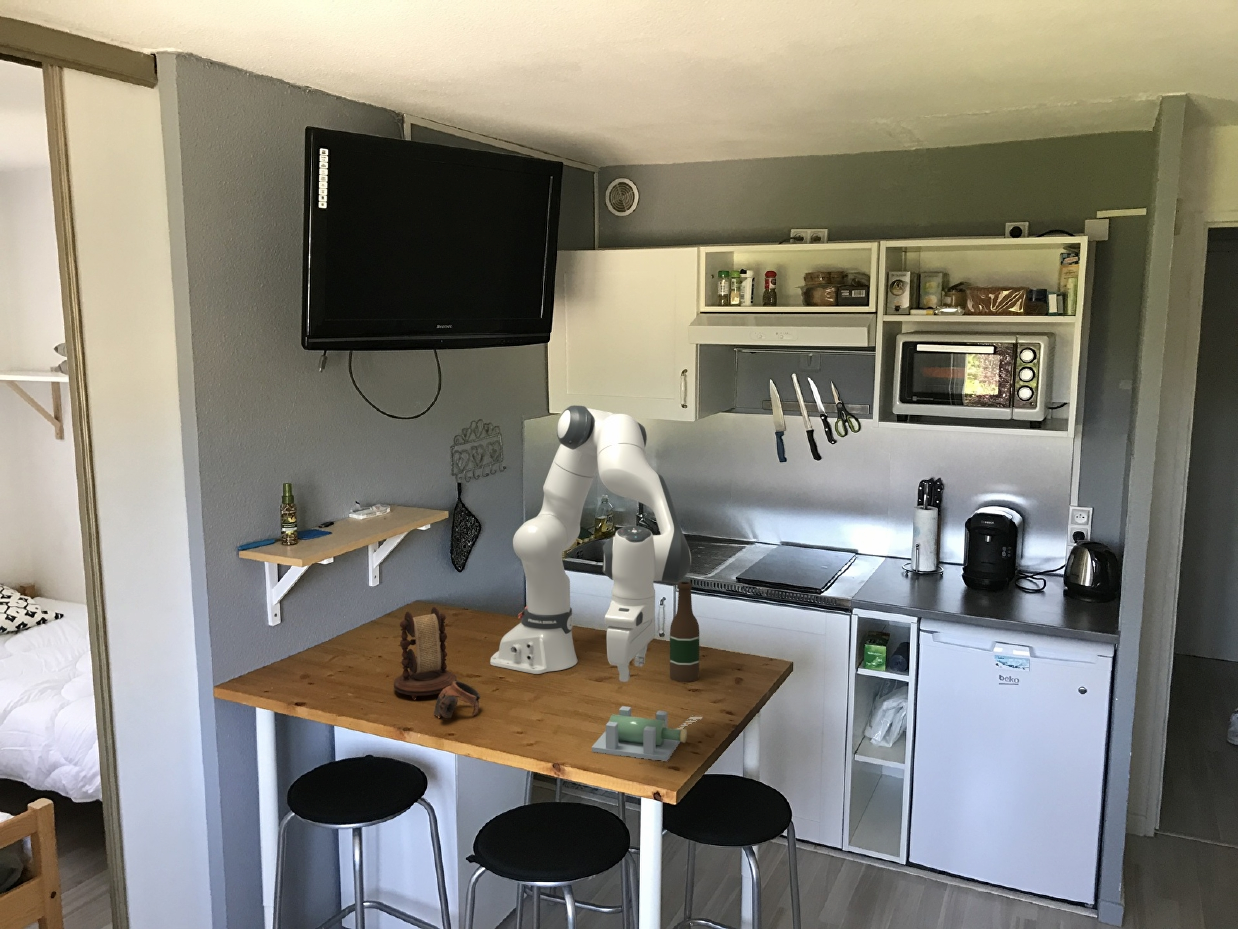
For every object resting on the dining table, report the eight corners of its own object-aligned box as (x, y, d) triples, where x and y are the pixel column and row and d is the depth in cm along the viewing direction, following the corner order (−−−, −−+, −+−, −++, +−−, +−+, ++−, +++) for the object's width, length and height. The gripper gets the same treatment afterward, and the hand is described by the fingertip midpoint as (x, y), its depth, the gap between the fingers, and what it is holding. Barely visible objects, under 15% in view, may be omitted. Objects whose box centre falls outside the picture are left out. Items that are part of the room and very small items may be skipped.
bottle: (608, 743, 204) (607, 720, 204) (615, 733, 209) (615, 710, 208) (682, 752, 199) (682, 729, 199) (688, 742, 204) (688, 719, 203)
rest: (591, 751, 202) (591, 723, 202) (609, 731, 213) (609, 704, 212) (667, 762, 197) (667, 733, 197) (681, 740, 208) (681, 713, 207)
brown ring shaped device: (438, 707, 228) (456, 676, 228) (472, 729, 226) (490, 697, 226) (419, 714, 216) (437, 680, 217) (454, 737, 214) (473, 703, 215)
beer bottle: (663, 679, 243) (663, 584, 240) (676, 670, 250) (676, 577, 247) (692, 684, 240) (693, 588, 236) (705, 674, 246) (705, 580, 243)
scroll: (407, 706, 227) (404, 622, 225) (385, 687, 240) (381, 607, 237) (466, 693, 235) (464, 611, 233) (441, 675, 248) (439, 597, 245)
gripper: (634, 592, 211) (633, 654, 213) (601, 619, 192) (600, 687, 194) (663, 595, 209) (661, 658, 211) (632, 623, 190) (631, 692, 192)
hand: (632, 672), depth 203 cm, fingers open, 8 cm apart
